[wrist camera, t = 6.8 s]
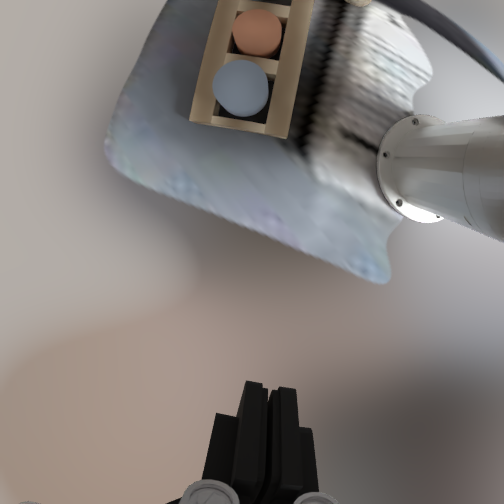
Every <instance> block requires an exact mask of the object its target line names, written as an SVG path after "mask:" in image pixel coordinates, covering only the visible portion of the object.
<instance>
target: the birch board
mask: <svg viewBox="0 0 504 504" xmlns="http://www.w3.org/2000/svg"><path fill="white" fill-rule="evenodd" d="M313 4H314V0H292V3H291V7H290V6H285V5H279V4H273V3H266V2H258V1H250V0H218V4H217V7H216V10H215V14H214V17H213V21H212V25H211V28H210V32H209V36H208V40H207V44H206V47H205V51H204V55H203V59H202V64H201V68H200V72H199V76H198V80H197V85H196V89H195V94H194V98H193V103H192V108H191V113H190V117H189V120H190V121H192V122H194V123H197V124H204V125H211V126H217V127H224V128H230V129H236V130H242V131H247V132H253V133H258V134H263V135H269V136H274V137H279V138H283V139H286V138H287V136H288V131H289V126H290V121H291V116H292V111H293V106H294V101H295V96H296V91H297V86H298V81H299V76H300V71H301V66H302V61H303V56H304V51H305V46H306V41H307V35H308V30H309V25H310V20H311V15H312V10H313ZM252 9H262V10H266V11H269V12H271V13H273V14H274V15H275V16H276V17H277V18H278V19H279V21H280V23H281V27H282V28H286V30H285V35H284V40H283V44H282V49H281V54H280V59H279V61H277V60H271V59H266V58H259V57H253V56H246V55H239V54H232V51H233V47H234V43H235V39H234V36H233V32H232V26H233V23H234V21H235V19H236V18H237V17H238V16H239V15H240V14H242V13H243V12H246V11H248V10H252ZM235 60H247V61H251V62H253V63H255V64H257V65H258V66H259V67H261V68H262V70H263V71H264V72H265V74H266V77H267V80H269V81H274V87H273V92H272V97H271V102H270V107H269V111H268V116H267V121H266V124H260V123H255V122H249V121H244V120H238V119H232V118H225V117H219V116H218V114H219V109H220V103H219V102H218V100H217V99H216V97H215V95H214V93H213V88H212V84H213V79H214V76H215V74H216V73H217V71H218V70H219V69H220V68H221V67H222V66H224V65H225V64H227V63H229V62H231V61H235Z"/></svg>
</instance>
